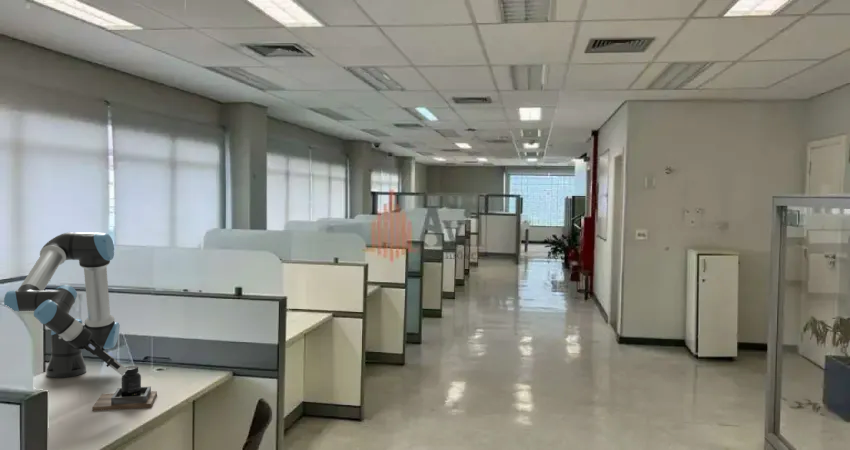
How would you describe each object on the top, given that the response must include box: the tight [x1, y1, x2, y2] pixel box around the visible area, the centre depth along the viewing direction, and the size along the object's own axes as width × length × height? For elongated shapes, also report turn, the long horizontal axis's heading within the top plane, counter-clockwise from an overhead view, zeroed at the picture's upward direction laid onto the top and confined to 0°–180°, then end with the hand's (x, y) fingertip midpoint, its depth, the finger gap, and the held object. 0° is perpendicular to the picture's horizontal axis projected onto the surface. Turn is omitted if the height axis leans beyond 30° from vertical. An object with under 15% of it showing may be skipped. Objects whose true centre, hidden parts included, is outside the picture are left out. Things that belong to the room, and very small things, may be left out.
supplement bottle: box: [120, 365, 142, 397], centre depth 239 cm, size 7×7×12 cm
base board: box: [91, 386, 158, 412], centre depth 239 cm, size 15×20×4 cm
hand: (119, 368), depth 235 cm, fingers open, 13 cm apart
